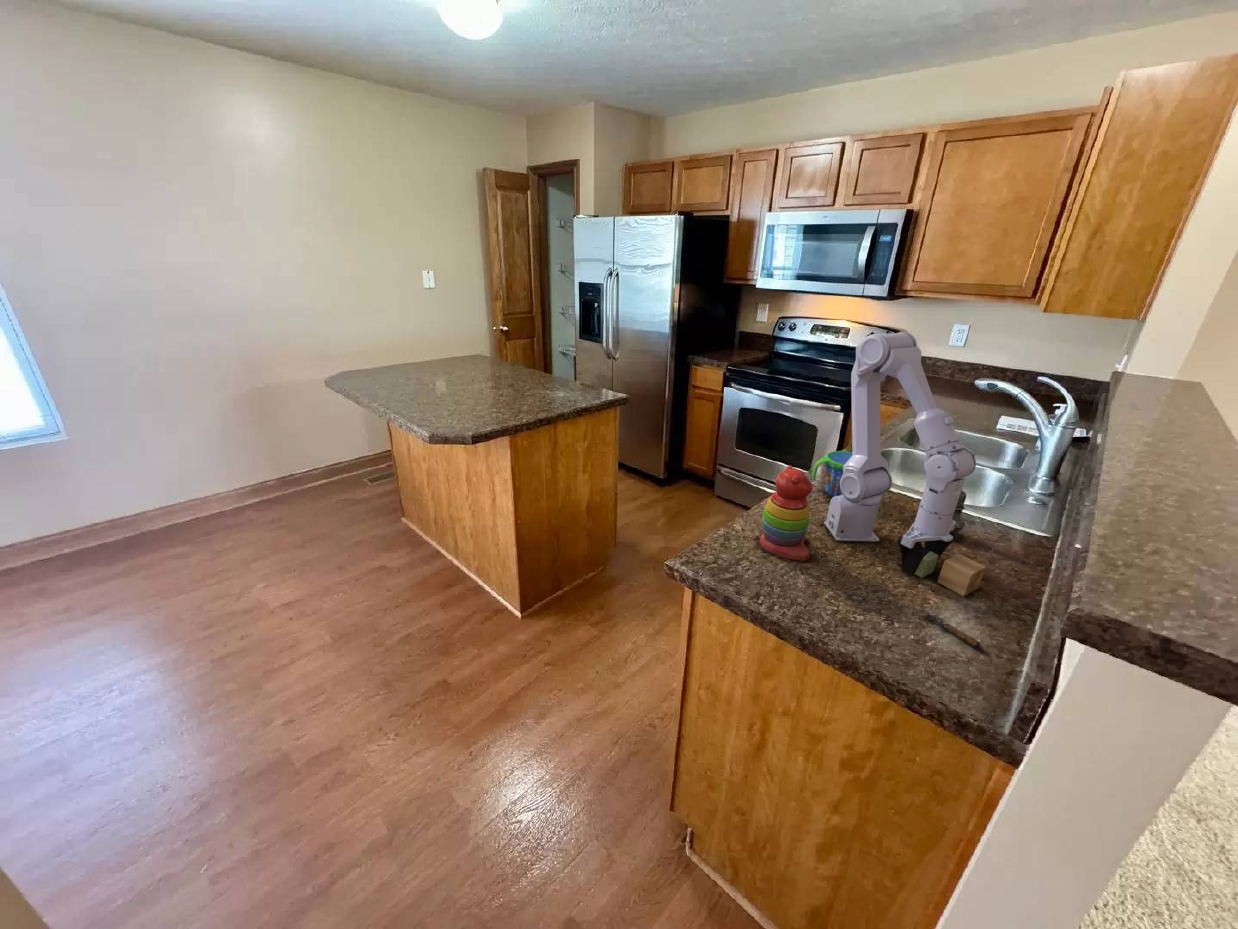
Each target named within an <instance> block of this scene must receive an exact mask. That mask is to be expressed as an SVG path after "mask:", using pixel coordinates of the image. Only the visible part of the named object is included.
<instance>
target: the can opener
mask: <svg viewBox="0 0 1238 929" xmlns="http://www.w3.org/2000/svg"><path fill="white" fill-rule="evenodd" d="M927 614H928V615H927V619H928V620H931V621H933V623H935V624H937V625H939V626H943V628H944V629H945V630H946V631H948V632H950V633H951V634H953V635H955V636H957V637H958V638H959V639H961V640H962V641H963V642H965V643H966V644H969V645H970V646H972V647H973V648H976V649H978V648H979V647H980V645H981V642H980V641H978V640H977V639H975V638H974V637H972V636H970V635H969V634H967V633H965V632H963V631H962V630H959V629H957V627H955V626H953V625H951V624H949V623H945V620H943V619H942V618H941V617H939V616H937V615H935V614H933V613H930V612H927Z"/></svg>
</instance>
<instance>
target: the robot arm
mask: <svg viewBox="0 0 1238 929" xmlns="http://www.w3.org/2000/svg"><path fill="white" fill-rule="evenodd" d="M887 376H889V377H892V378H895V379H897V380H898V382H899V383H900V386H901V388H902V389H903V392H904V393H905V395H906V397H907V399H908V400H909V403H910V405H911V407H912V408H913V410H914V412H915V414H916V417H915V419H914V421H913V426H914V429H915V431H916V434H917V436H918V438H919V441H920V443H921V445H922V448H923V451H924V453H925V454H926V457H927V460H924V462H923V463H924V464H923V467H924V472H925V475H926V480H925V486H924V490H923V492H922V496H921V498H920V499H921V500H920V502H919V505H918V508H917V513H916V516H915V519H914V522H912V524H911V526H910V528H909V529H908V531H907V532H906V533H905V534H903V535H901V536H898V538H897V541H896V543H897V545H898V546H897V547H898V548H899V551H900V556H901V557H900V558H901V571H902V572H903V573H904V574H907V575H909V576H910V577H912V576H914V575H916V574H915V572H916V570H917V568H918V566H919V564H920V562H921V561H922V559H923V558H924V557H925V556H926V554H928V553H929V552H930V551H931V552H933V553H935V554H937V555H939V556H938V559H937V562H938V561H939V560H940V558H941V557H942V555H943V554H944V552H945V551H946V550H947V549H948V547H949V546H950V545H952V544H953V543H954V542H956V541H957V540H956V538H957V537H956V535H954V534H952V533H950V531H952V530H954V527H955V524H956V522H955V521H953V520H952V517H953V514H954V511H955V508H956V505H957V502H958V499H959V496H960V493H961V490H962V491H963V486H964V483H965V478H967V477H968V476H970V475H972V474H973V473H974V472H975V469H976V468H977V460H976V456H975V453H974V452H973V451H972V450H971V449H970V448H968V447H966V446H964V445H963V443H962V442H961V441H960V439H959V436H958V434H957V432H956V429H955V428H954V425H953V424H954V423H955V421H954V418H953V417H952V416H949V414H948V412H947V411H945V410H944V409H941V408H938V407H937V404H936V402H935V399H934V396H933V393H932V391H931V390H932V389H931V388H930V385H929V382H928V379H927V376H926V373H925V371H924V368H923V365H922V350H921V349H920V347H919V346H918V342H917V339H916V337H915V336H914V335H913V334H912V333H911V332H907V331H900V332H896V333H895V332H894V333H884V334H883V333H881V334H876V333H873V334H869V335H867V336H866V337H865V338H863V339H862V340H861V342H859V343H858V345H857V346H856V347H855V361H854V364H853V367H852V370H851V375H850V380H851V381H850V384H851V385H850V386H851V388H850V389H851V390H850V391H851V446H852V448H851V449H852V451H851V453H852V457H851V458H850V459H849V460H848V461H847V462H846V464H845V465H844V466H843V475H842V477H841V480H840V489H841V492H842V493H843V495H840V496H835V497H833V496H832V498H831V500H830V502H829V506H828V509H827V510H828V511H827V515H826V520H825V521H824V522H823V524H824V525H825V526H826V528H827V529H828V530H829V532H830V534H831V535H832V536H833V537H834V539H835V540H836V541H838V542H871V543H872V542H874V543H875V542H880V538H879V537H878V536H877V534H876V533H875V532H874V528H875V525H876V520H877V516H878V512H879V508H880V505H881V501H882V499H883V497H884V494H886V493H889V491H890V490H891V489H892V487H893V477H892V474H891V471H890V468H889V461H888V460H887V459H886V458H885V457H884V456H883V455H882V439H881V437H882V436H881V435H882V433H881V432H882V430H881V429H882V428H881V426H882V425H881V418H882V417H881V416H882V415H881V414H882V412H881V382H882V380H883V379H884V378H886V377H887ZM922 542H924V546H923V544H922Z"/></svg>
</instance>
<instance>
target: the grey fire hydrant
mask: <svg viewBox="0 0 1238 929" xmlns="http://www.w3.org/2000/svg"><path fill="white" fill-rule="evenodd" d="M966 499H967V493H966V492H965V491H963V489H962V490H961V493H960V496H959V499H958V502H957V505H956V508H955V511H954V514H953V517H952V520H953V521H955V522H956V524H955V527H954V530H952V531H950V533H952V534H954V535H956V537H957V538H956V540H955V541H958V540H959V539H960V535H959V534H958V533H960V532H961V531H962V530H963V528H965V527H966V522H965V521H964V520H963V519H961V515H962V512H963V510H965V509H966V508H965V506H964V505H965V502H966Z"/></svg>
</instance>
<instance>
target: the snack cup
mask: <svg viewBox="0 0 1238 929" xmlns="http://www.w3.org/2000/svg"><path fill="white" fill-rule="evenodd" d="M851 457H852V451H846V450H845V451H844V450H843V451H842V450H833V451H830V452H828V453H827V454H826V455H825V456H823V457H821V458H819V459H817V461H816V462H815V463H814V465H813V468H812V471H811V472H812V480H813V481H816V480H817V479H816V475H817V473H818V472H817V471H818V469H819V466H820V465H821V464H823V463H825V464H826V466H825V468H826V470H825V489H824V491H825V493H827V494H828V495H829V496H831V497H832V498H833V497H835V496H840V495H843V493H842V492H841V489H840V480H841V477H842V475H843V466H844V465H845V464H846V462H847V461H848V460H849V459H850V458H851Z"/></svg>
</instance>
